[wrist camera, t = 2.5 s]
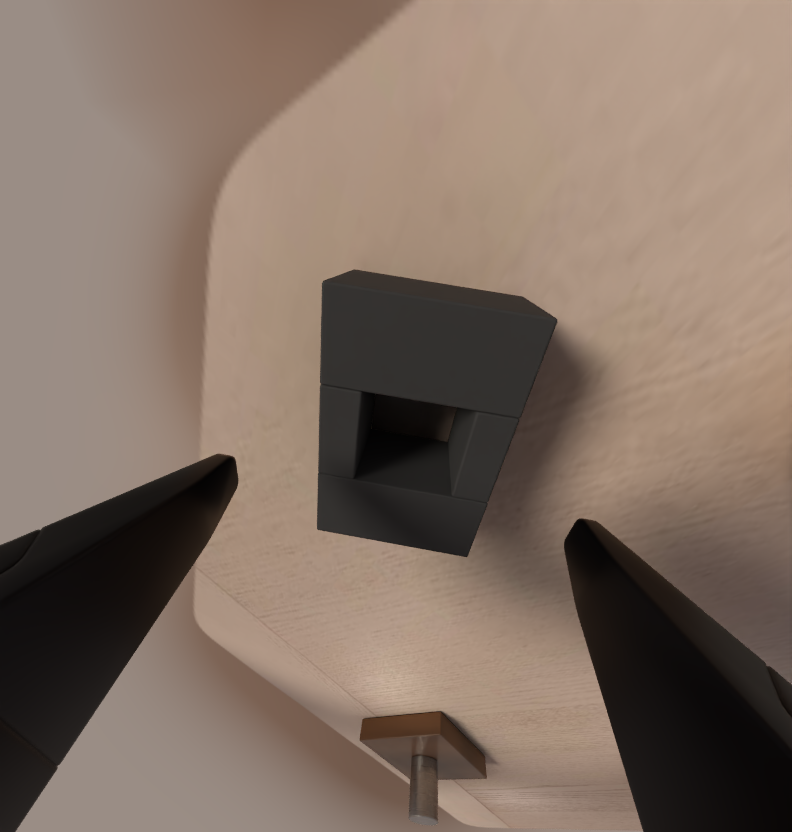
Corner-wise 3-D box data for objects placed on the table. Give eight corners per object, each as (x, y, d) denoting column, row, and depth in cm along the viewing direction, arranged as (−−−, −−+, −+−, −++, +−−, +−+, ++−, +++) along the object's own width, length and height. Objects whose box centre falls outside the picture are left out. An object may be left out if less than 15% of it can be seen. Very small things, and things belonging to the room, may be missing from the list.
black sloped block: (461, 495, 15) (467, 557, 12) (339, 473, 16) (316, 530, 13) (524, 297, 11) (559, 318, 8) (352, 268, 11) (321, 280, 8)
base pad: (362, 718, 30) (349, 800, 25) (440, 711, 27) (441, 800, 23) (412, 759, 34) (408, 836, 29) (484, 756, 31) (493, 840, 27)
